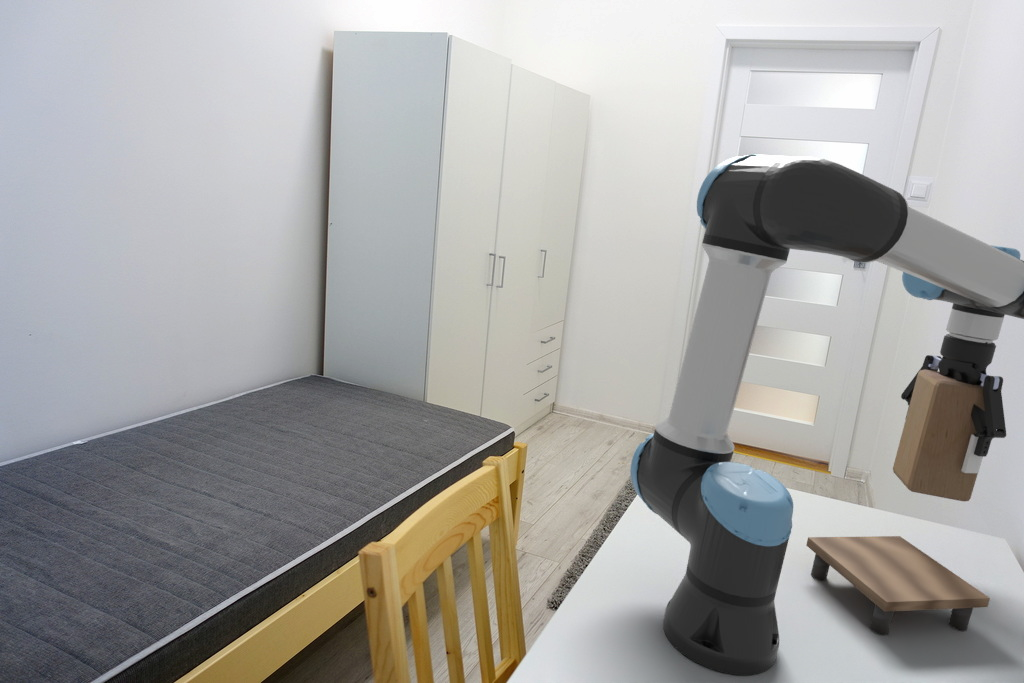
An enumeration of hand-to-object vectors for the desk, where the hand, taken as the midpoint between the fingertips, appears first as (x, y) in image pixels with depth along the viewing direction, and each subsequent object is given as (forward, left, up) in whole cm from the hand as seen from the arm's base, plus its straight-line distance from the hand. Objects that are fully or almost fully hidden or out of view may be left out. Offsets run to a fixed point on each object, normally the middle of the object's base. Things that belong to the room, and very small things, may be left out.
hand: (938, 456), depth 124 cm
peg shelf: (-17, -13, -19) cm, 28 cm away
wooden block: (0, 0, -6) cm, 6 cm away
